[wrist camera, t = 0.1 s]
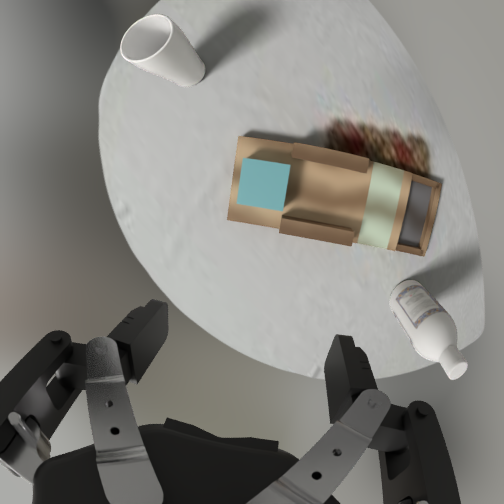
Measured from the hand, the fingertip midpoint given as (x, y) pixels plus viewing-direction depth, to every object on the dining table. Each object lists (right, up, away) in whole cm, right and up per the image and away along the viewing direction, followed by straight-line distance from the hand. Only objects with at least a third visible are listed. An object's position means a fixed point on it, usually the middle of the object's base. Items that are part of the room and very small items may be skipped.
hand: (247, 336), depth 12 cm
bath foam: (+27, -4, +29) cm, 40 cm away
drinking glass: (-9, +31, +22) cm, 39 cm away
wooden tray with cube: (+13, +12, +25) cm, 31 cm away
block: (+2, +13, +24) cm, 28 cm away
